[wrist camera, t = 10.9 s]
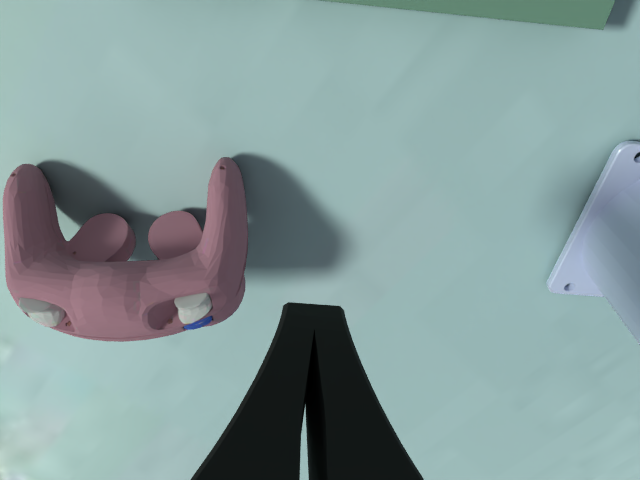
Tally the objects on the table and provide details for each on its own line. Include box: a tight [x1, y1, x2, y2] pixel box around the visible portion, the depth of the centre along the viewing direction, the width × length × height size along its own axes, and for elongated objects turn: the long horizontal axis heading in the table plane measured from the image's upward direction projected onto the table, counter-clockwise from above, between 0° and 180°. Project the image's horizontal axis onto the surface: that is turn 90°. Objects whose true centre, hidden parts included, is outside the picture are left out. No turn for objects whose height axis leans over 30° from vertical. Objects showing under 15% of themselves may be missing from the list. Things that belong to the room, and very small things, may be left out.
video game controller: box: [3, 157, 248, 341], centre depth 19 cm, size 10×5×7 cm, turn 92°
